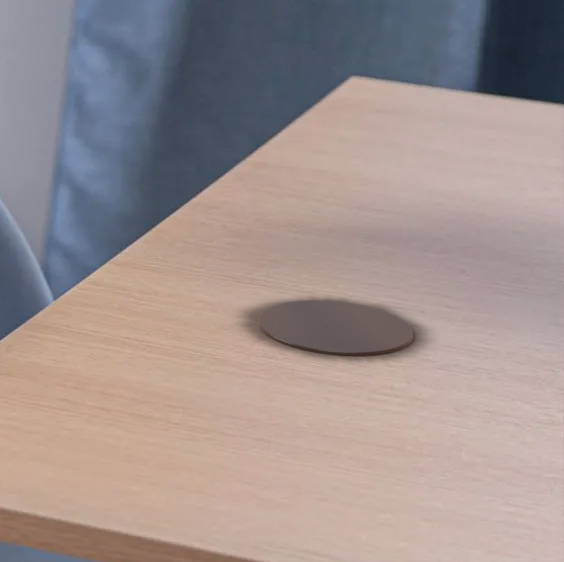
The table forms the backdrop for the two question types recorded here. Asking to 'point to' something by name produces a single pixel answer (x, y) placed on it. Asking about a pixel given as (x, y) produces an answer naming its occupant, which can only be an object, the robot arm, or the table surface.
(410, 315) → the table surface
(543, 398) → the table surface
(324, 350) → the round coaster
